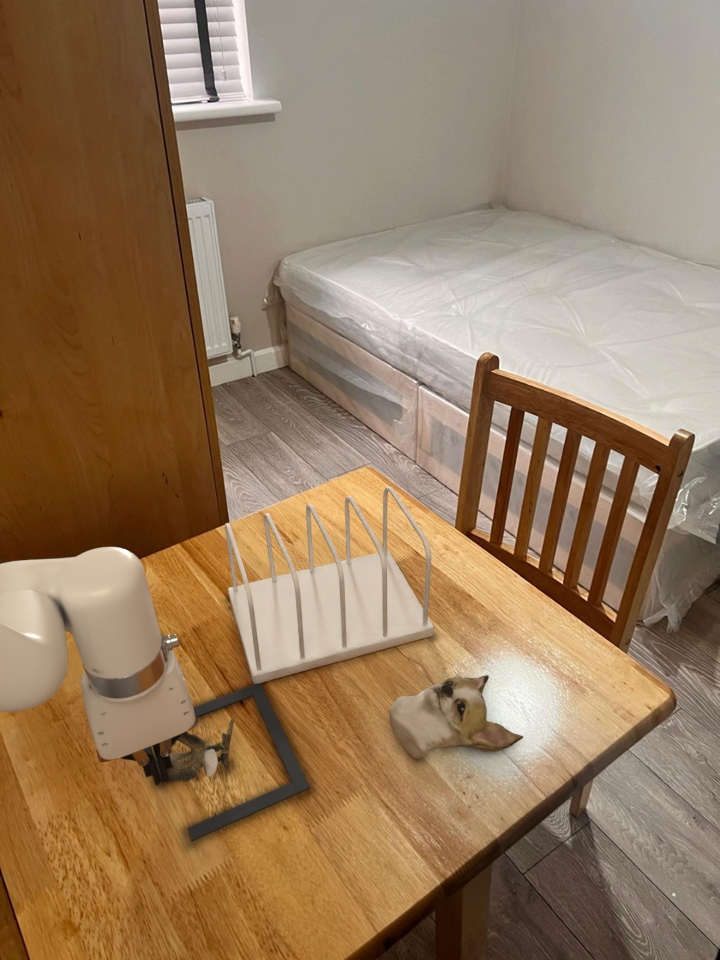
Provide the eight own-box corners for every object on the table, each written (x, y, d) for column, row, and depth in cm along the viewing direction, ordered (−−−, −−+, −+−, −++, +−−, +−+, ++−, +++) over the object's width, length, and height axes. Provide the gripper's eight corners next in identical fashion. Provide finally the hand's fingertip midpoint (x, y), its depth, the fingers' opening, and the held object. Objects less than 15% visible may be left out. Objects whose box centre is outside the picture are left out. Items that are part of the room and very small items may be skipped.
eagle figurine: (235, 719, 88) (159, 712, 87) (234, 715, 82) (152, 707, 81) (225, 788, 85) (147, 781, 84) (224, 789, 79) (139, 782, 78)
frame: (191, 841, 77) (191, 840, 77) (155, 723, 89) (155, 722, 89) (309, 788, 82) (309, 787, 81) (260, 683, 94) (260, 681, 94)
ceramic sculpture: (375, 665, 84) (492, 639, 88) (371, 713, 89) (482, 687, 93) (407, 741, 76) (534, 709, 80) (401, 789, 81) (522, 757, 85)
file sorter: (253, 686, 93) (239, 596, 84) (228, 598, 107) (214, 512, 98) (434, 636, 99) (438, 547, 91) (388, 559, 113) (388, 475, 104)
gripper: (190, 611, 77) (214, 722, 87) (41, 662, 71) (85, 772, 82) (211, 661, 71) (234, 772, 81) (50, 719, 66) (97, 830, 76)
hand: (159, 772), depth 82 cm, fingers closed
